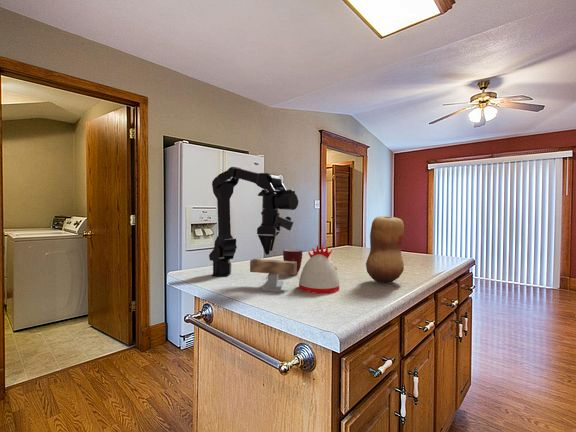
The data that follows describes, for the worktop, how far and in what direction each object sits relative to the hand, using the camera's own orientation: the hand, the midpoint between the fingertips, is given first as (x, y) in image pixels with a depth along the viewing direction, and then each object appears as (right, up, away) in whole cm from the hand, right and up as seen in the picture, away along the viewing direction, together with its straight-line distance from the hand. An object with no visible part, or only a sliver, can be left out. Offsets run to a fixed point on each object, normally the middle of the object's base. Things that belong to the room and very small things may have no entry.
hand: (269, 252), depth 111 cm
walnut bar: (+2, -7, -3) cm, 7 cm away
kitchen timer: (+18, -12, -4) cm, 22 cm away
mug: (+9, -12, +18) cm, 23 cm away
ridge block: (+2, -12, -3) cm, 12 cm away
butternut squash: (+43, -12, +6) cm, 45 cm away
